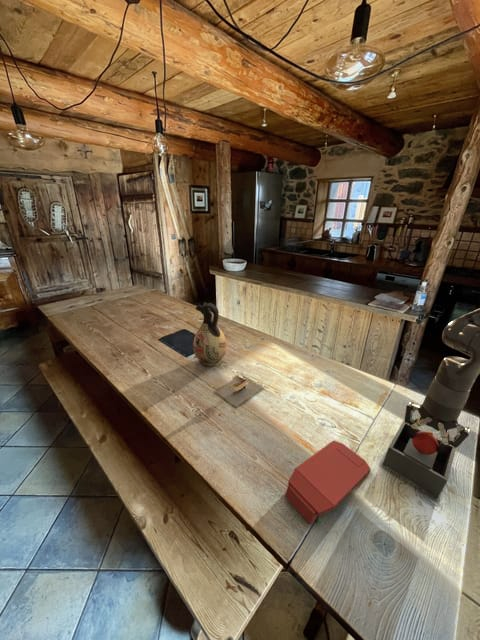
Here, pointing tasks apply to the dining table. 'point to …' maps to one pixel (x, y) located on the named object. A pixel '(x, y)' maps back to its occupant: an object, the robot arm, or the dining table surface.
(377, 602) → the dining table surface
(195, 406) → the dining table surface
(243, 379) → the architectural model
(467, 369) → the robot arm
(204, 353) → the ceramic jug
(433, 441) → the onion
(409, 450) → the block
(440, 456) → the crate
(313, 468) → the carton
